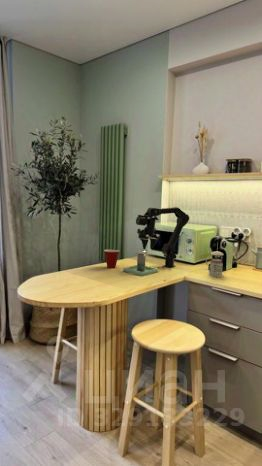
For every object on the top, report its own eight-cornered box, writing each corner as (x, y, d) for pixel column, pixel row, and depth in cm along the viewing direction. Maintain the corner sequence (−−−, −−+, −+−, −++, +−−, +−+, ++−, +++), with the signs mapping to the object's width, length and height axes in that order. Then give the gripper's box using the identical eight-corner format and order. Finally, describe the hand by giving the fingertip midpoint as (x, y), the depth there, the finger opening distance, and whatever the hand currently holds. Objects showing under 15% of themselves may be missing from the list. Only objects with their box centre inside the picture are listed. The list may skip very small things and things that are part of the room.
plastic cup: (120, 266, 222) (120, 249, 221) (118, 269, 211) (118, 251, 210) (104, 265, 223) (105, 248, 222) (101, 268, 212) (102, 250, 211)
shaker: (143, 269, 211) (144, 250, 209) (146, 271, 206) (146, 251, 204) (135, 269, 210) (136, 250, 208) (137, 271, 204) (138, 251, 203)
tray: (139, 267, 219) (139, 264, 219) (158, 272, 208) (158, 268, 208) (123, 271, 207) (123, 268, 207) (142, 276, 197) (142, 272, 196)
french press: (225, 276, 202) (228, 237, 199) (207, 276, 202) (209, 237, 199) (220, 273, 212) (223, 235, 209) (203, 272, 212) (205, 235, 209)
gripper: (147, 224, 229) (144, 246, 230) (133, 224, 213) (130, 247, 214) (161, 227, 222) (158, 249, 224) (147, 226, 207) (144, 250, 208)
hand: (147, 248), depth 218 cm, fingers open, 9 cm apart
